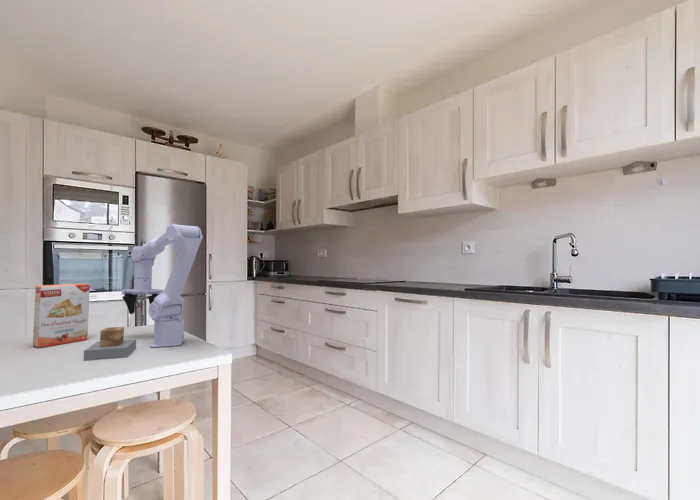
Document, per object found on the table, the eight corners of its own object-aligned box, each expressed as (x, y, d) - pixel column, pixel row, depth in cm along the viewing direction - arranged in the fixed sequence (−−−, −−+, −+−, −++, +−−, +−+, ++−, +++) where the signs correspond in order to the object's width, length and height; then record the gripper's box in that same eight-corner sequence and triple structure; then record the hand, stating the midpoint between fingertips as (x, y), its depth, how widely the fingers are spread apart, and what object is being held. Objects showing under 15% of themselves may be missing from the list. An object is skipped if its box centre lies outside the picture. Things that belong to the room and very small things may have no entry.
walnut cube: (123, 341, 109) (123, 326, 109) (118, 345, 104) (119, 329, 104) (105, 343, 107) (105, 327, 107) (99, 347, 102) (100, 331, 102)
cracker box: (38, 348, 110) (40, 286, 110) (32, 346, 113) (34, 285, 113) (88, 340, 121) (90, 283, 122) (81, 337, 125) (83, 282, 125)
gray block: (135, 349, 112) (136, 339, 112) (126, 358, 102) (126, 347, 102) (97, 352, 108) (97, 341, 109) (83, 362, 98) (83, 350, 98)
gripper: (116, 278, 121) (115, 315, 120) (156, 279, 121) (155, 315, 121) (128, 277, 128) (127, 312, 127) (166, 277, 128) (165, 312, 128)
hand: (142, 313), depth 125 cm, fingers open, 7 cm apart
